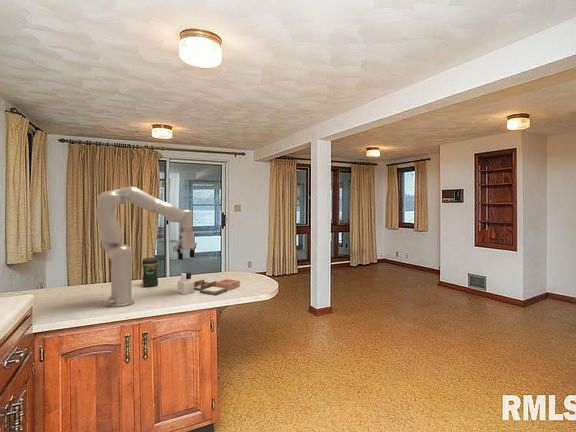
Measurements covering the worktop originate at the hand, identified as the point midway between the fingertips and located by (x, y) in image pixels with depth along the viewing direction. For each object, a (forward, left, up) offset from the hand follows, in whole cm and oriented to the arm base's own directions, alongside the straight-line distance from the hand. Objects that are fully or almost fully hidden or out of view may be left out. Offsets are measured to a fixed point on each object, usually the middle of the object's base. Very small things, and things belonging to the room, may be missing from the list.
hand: (186, 258), depth 203 cm
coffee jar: (+2, +33, -21) cm, 39 cm away
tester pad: (+9, -14, -20) cm, 26 cm away
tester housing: (+9, -14, -21) cm, 26 cm away
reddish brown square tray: (+23, -14, -21) cm, 34 cm away
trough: (+16, +1, -21) cm, 26 cm away
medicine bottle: (0, 0, -21) cm, 21 cm away
